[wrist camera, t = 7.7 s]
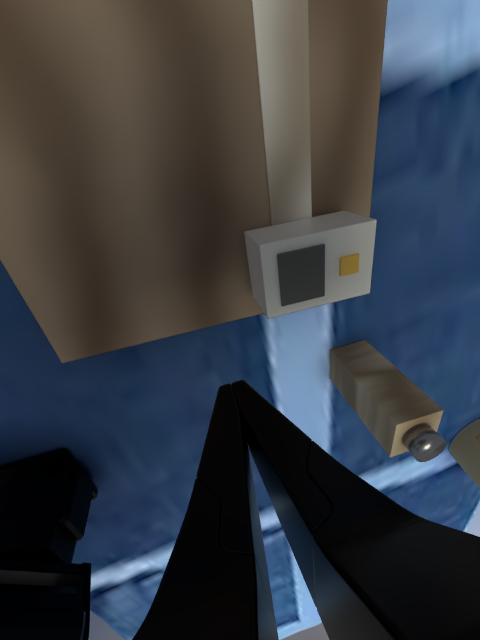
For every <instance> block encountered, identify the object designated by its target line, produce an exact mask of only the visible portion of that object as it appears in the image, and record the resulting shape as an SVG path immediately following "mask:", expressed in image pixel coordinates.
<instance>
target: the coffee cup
mask: <svg viewBox="0 0 480 640" xmlns="http://www.w3.org/2000/svg"><path fill="white" fill-rule="evenodd" d="M449 451H450V454H451V455H452V456H453V457H454V459H455V460H456V461H457V462H458V463H459V465H460V466H461V467H462V468H463V469H464V470H465V472H466V473H467V474H468V475H469V476H470V477H471V478H472V480H473V481H474V482H475V483H476V484H477V485H478V486H479V488H480V418H479V419H477V420H475V421H473V422H471V423H470V424H468V425H467V426H465V427H464V428H463V429H462V430H461V431H459V432H458V434H457V435H456V436H455V437H454V438H453V440H452V442H451V443H450V446H449Z"/></svg>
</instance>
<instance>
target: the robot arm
mask: <svg viewBox="0 0 480 640" xmlns="http://www.w3.org/2000/svg"><path fill="white" fill-rule="evenodd" d="M247 443H248V444H247ZM248 446H249V448H248ZM249 449H250V452H251V454H252V457H253V459H254V461H255V464H256V466H257V469H258V471H259V473H260V476H261V478H262V480H263V483H264V485H265V488H266V490H267V492H268V495H269V497H270V499H271V502H272V504H273V506H274V509H275V511H276V514H277V516H278V518H279V521H280V523H281V525H282V528H283V530H284V533H285V535H286V537H287V540H288V542H289V544H290V547H291V549H292V552H293V554H294V556H295V559H296V561H297V563H298V566H299V568H300V570H301V573H302V575H303V578H304V580H305V582H306V585H307V587H308V589H309V592H310V594H311V597H312V599H313V601H314V604H315V606H316V607H317V611H318V613H319V616H320V618H321V620H322V623H323V625H324V627H325V630H326V632H327V635H328V637H329V639H330V640H480V537H478V536H475V535H472V534H469V533H466V532H463V531H460V530H456V529H453V528H450V527H447V526H444V525H441V524H438V523H435V522H432V521H429V520H426V519H424V518H422V517H419V516H417V515H415V514H413V513H412V512H410V511H408V510H406V509H405V508H403V507H402V506H400V505H399V504H397V503H396V502H394V501H393V500H391V499H390V498H388V497H387V496H386V495H384V494H383V493H381V492H380V491H378V490H377V489H376V488H374V487H373V486H371V485H370V484H368V483H367V482H366V481H364V480H363V479H361V478H360V477H358V476H357V475H355V474H354V473H353V472H351V471H350V470H349V469H347V468H346V467H344V466H343V465H342V464H340V463H339V462H338V461H336V460H335V459H334V458H333V457H332V456H330V455H329V454H328V453H327V452H325V451H324V450H323V449H322V448H321V447H320V446H318V445H317V444H316V443H315V442H314V441H312V440H311V439H310V438H309V437H308V436H307V435H306V434H305V433H303V432H302V431H301V430H300V429H299V428H298V427H297V426H296V425H294V424H293V423H292V422H291V421H290V420H289V419H288V418H286V417H285V416H284V415H283V414H282V413H281V412H280V411H278V410H277V409H276V408H275V407H274V406H273V405H272V404H270V403H269V402H268V401H267V400H266V399H265V398H264V397H262V396H261V395H260V394H259V393H258V392H257V391H256V390H255V389H253V388H252V387H251V386H250V385H249V384H248V383H247V382H245V381H244V380H240V381H236V382H233V383H232V385H231V384H226V385H222V386H220V387H219V389H218V393H217V397H216V401H215V405H214V409H213V413H212V417H211V421H210V425H209V429H208V433H207V437H206V440H205V444H204V448H203V452H202V456H201V460H200V464H199V468H198V472H197V476H196V477H197V479H196V480H195V483H194V487H193V491H192V495H191V498H190V502H189V505H188V509H187V512H186V515H185V518H184V521H183V524H182V526H181V529H180V532H179V535H178V538H177V540H176V543H175V546H174V548H173V551H172V554H171V556H170V559H169V562H168V564H167V567H166V570H165V572H164V575H163V578H162V580H161V583H160V585H159V588H158V591H157V593H156V596H155V598H154V601H153V603H152V605H151V607H150V610H149V612H148V614H147V616H146V618H145V620H144V621H143V623H142V625H141V627H140V628H139V630H138V632H137V633H136V635H135V636H134V638H133V639H132V640H279V639H278V633H277V627H276V620H275V614H274V607H273V601H272V595H271V588H270V582H269V575H268V569H267V562H266V556H265V550H264V543H263V537H262V530H261V524H260V518H259V511H258V505H257V498H256V492H255V485H254V479H253V473H252V466H251V460H250V454H249ZM97 493H98V491H97V489H96V488H95V487H94V485H93V483H92V482H91V480H90V479H89V478H88V476H87V475H86V474H85V472H84V471H83V469H81V468H80V466H79V465H78V463H77V462H76V461H75V459H74V458H73V457H72V455H71V454H70V453H69V451H67V450H58V451H54V452H51V453H47V454H44V455H40V456H37V457H33V458H30V459H26V460H23V461H19V462H15V463H12V464H8V465H5V466H1V467H0V640H88V638H89V622H90V585H91V563H82V564H74V563H72V559H73V554H74V550H75V546H76V541H79V540H81V539H82V537H83V536H84V531H85V527H86V522H87V517H88V513H89V508H90V503H91V500H93V499H95V498H96V497H97Z"/></svg>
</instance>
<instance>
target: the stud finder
mask: <svg viewBox="0 0 480 640" xmlns="http://www.w3.org/2000/svg"><path fill="white" fill-rule="evenodd" d="M376 221H377V220H376V219H372V218H369V217H365V216H361V215H358V214H354V213H351V212H347V211H340V212H335V213H330V214H325V215H321V216H316V217H311V218H306V219H302V220H297V221H292V222H287V223H283V224H278V225H273V226H268V227H264V228H259V229H254V230H249V231H244V235H245V242H246V250H247V257H248V264H249V271H250V279H251V286H252V293H253V297H254V299H255V300H256V302H257V303H258V305H259V306H260V308H261V309H262V311H263V312H264V314H265V315H266V317H267V318H268V319H269V318H273V317H277V316H281V315H285V314H289V313H292V312H296V311H300V310H304V309H308V308H312V307H316V306H320V305H324V304H328V303H332V302H336V301H340V300H344V299H348V298H352V297H356V296H360V295H364V294H368V293H370V285H371V274H372V264H373V253H374V243H375V232H376Z"/></svg>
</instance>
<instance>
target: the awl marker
mask: <svg viewBox="0 0 480 640" xmlns="http://www.w3.org/2000/svg"><path fill="white" fill-rule="evenodd" d="M330 379H331V381H332V382H333V383H334V385H335V386H336V387H337V388H338V390H339V391H340V392H341V394H342V395H343V396H344V398H345V399H346V400H347V402H348V403H349V404H350V405H351V407H352V408H353V409H354V411H355V412H356V413H357V415H358V416H359V417H360V419H361V420H362V421H363V423H364V424H365V425H366V426H367V428H368V429H369V430H370V432H371V433H372V434H373V436H374V437H375V438H376V440H377V441H378V442H379V444H380V445H381V446H382V447H383V449H384V450H385V451H386V453H387V454H388V455H389V457H393V456H396V455H399V454H402V453H405V452H408V451H409V452H410V453H411V454H412V455H413V457H414V458H415V459H416V460H417V461H418V462H426V461H429V460H431V459H433V458H435V457H436V456H438V455H439V454H440V453H441V452H442V451H443V450H444V448H445V446H446V441H445V440H444V439H443V438H442V437H441V436H440V435H439V434H438V433H437V429H438V426H439V423H440V420H441V417H442V413H443V409H442V408H441V407H440V406H438V405H437V404H436V403H435V402H434V401H433V400H432V399H431V398H430V397H428V396H427V395H426V394H425V393H424V392H423V391H422V390H421V389H419V388H418V387H417V386H416V385H415V384H414V383H413V382H412V381H410V380H409V379H408V378H407V377H406V376H405V375H404V374H403V373H401V372H400V371H399V370H398V369H397V368H396V367H395V366H394V365H393V364H391V363H390V362H389V361H388V360H387V359H386V358H385V357H384V356H382V355H381V354H380V353H379V352H378V351H377V350H376V349H375V348H373V347H372V346H371V345H370V344H369V343H368V342H367V341H366V340H363V341H360V342H356V343H352V344H349V345H345V346H341V347H338V348H334V349H330Z"/></svg>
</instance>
